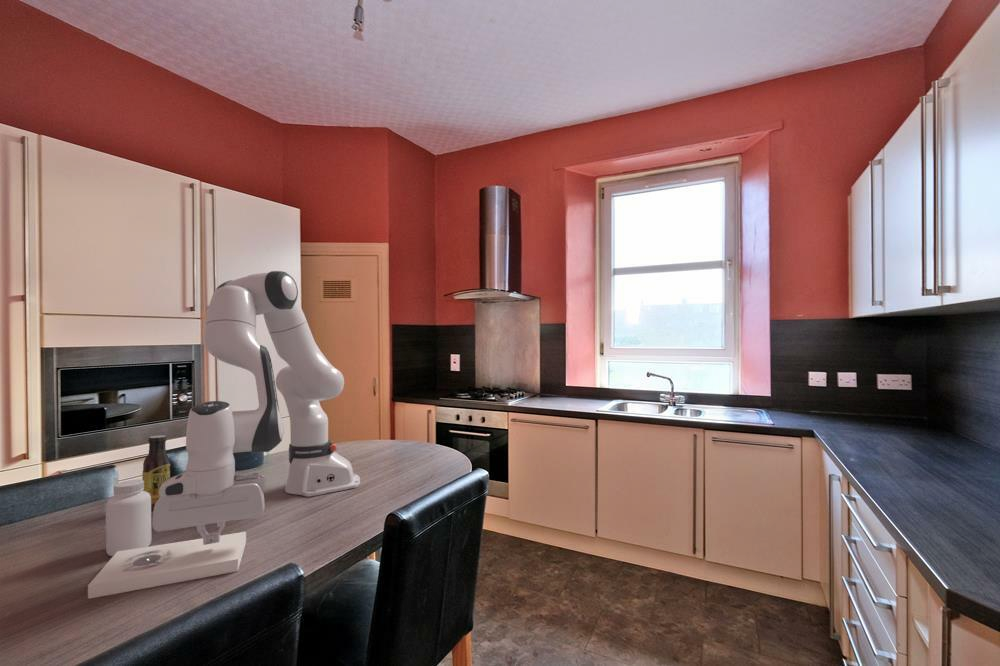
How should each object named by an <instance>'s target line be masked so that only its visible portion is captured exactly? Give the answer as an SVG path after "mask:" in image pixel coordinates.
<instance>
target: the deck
mask: <svg viewBox="0 0 1000 666" xmlns="http://www.w3.org/2000/svg"><path fill="white" fill-rule="evenodd" d="M246 544H247V531H241V532H234V533H229V534H228V533H227V534H223V535H222V534H220V542H219V543H213V544H206V545H203V537H201V538H197V539H191V540H190V539H189V540H184V541H177V542H171V543H163V544H156V545H151V546H150V545H149V546H148V547H143V548H137V549H131V550H124V551H118V552H116V554H115V555H114V556H111V558H110V559H109V561H108V562H107V563H106V564H105V565H104V566H103V567H102V569H101V570H100V571H99V572H98V573H97V574H96V575H95V577H94V578H93V579H92V580H91V581H90V582H89V584H87V599H89V600H90V599H95V598H100V597H105V596H111V595H117V594H122V593H127V592H132V591H137V590H138V591H139V590H144V589H149V588H154V587H160V586H161V587H162V586H165V585H171V584H176V583H182V582H189V581H193V580H198V579H203V578H209V577H213V576H219V575H224V574H230V573H235V572H238V571H239V569H240V564H241V560H242V559H243V558H242V557H243V554H244V550H245V547H246ZM141 557H150V558H151V559H152V560H153V563H151V564H148V565H143V566H134V563H135V562H136V560H138V559H139V558H141Z"/></svg>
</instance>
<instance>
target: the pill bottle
mask: <svg viewBox="0 0 1000 666" xmlns="http://www.w3.org/2000/svg"><path fill="white" fill-rule="evenodd" d="M143 487H144V481H143V480H142V479H131V480H130V479H129V480H126V481H125V480H124V481H121V482H118V483H115V484H114V485H113V494H112V495H113V496H112V497H111V498H110V499H108V500H107V502H106V504H105V544H106V545H105V547H106V549H105V550H106V554H107V555H108V556H110V557H113V556H114V555H115V554H116V552H118V551H124V550H131V549H137V548H143V547H150V545H151V544H152V510H151V496H150V494H149V493H148V492H146V491H142V490H143V489H144V488H143Z"/></svg>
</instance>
